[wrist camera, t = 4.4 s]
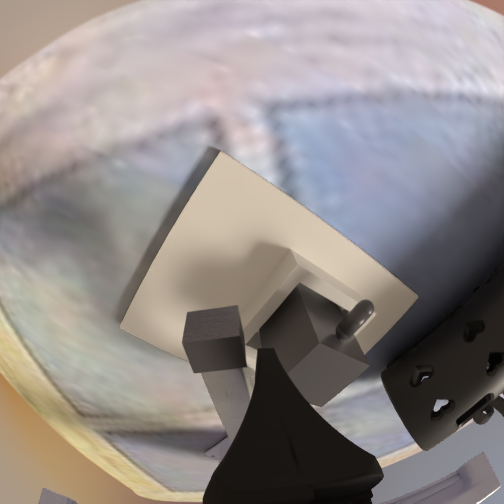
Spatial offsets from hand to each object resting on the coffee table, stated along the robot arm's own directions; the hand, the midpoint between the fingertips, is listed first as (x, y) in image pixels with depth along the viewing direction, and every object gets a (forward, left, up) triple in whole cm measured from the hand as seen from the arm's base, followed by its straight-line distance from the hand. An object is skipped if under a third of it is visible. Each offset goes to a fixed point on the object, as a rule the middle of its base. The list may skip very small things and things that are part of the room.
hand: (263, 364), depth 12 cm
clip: (-1, +3, -6) cm, 7 cm away
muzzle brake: (-20, -12, -8) cm, 24 cm away
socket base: (-3, +1, -7) cm, 8 cm away
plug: (-4, -1, -7) cm, 8 cm away
